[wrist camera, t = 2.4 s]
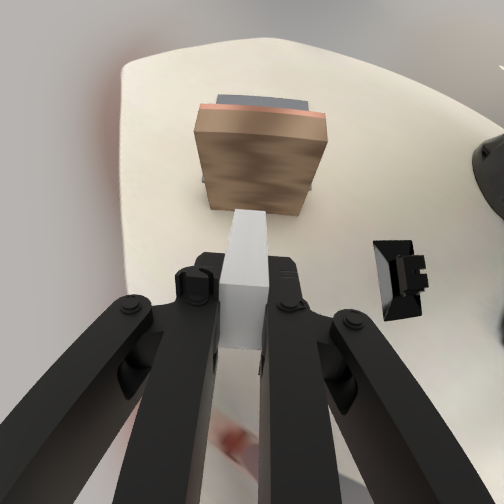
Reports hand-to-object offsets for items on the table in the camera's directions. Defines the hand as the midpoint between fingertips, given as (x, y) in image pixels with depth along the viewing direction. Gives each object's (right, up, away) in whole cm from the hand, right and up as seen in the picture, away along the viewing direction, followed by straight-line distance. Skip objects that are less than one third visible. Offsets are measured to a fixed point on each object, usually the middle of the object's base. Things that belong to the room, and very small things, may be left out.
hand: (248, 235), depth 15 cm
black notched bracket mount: (+17, -4, +18) cm, 25 cm away
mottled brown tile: (+1, +5, +20) cm, 20 cm away
